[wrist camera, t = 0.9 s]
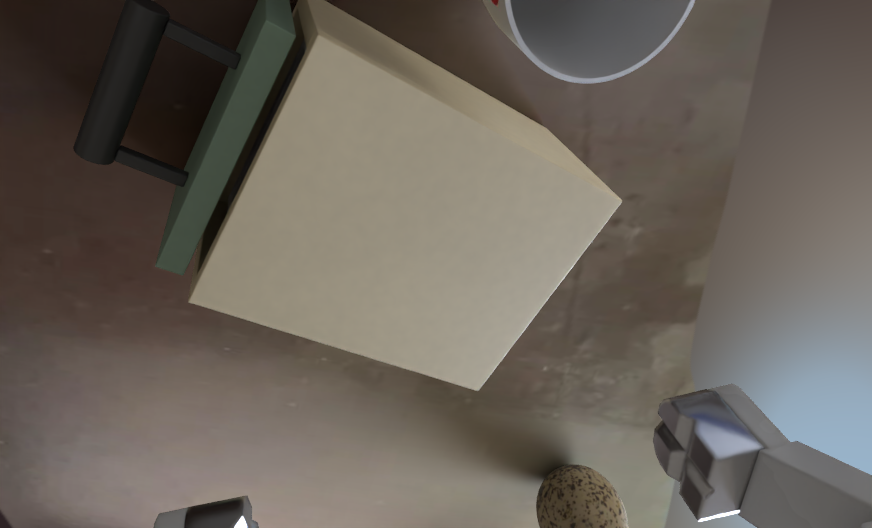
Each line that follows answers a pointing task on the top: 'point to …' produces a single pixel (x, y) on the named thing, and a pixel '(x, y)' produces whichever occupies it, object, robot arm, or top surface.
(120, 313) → the top surface
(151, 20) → the green drawer
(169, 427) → the top surface
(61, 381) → the top surface
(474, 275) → the drawer box
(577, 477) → the decorative egg
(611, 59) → the cup
